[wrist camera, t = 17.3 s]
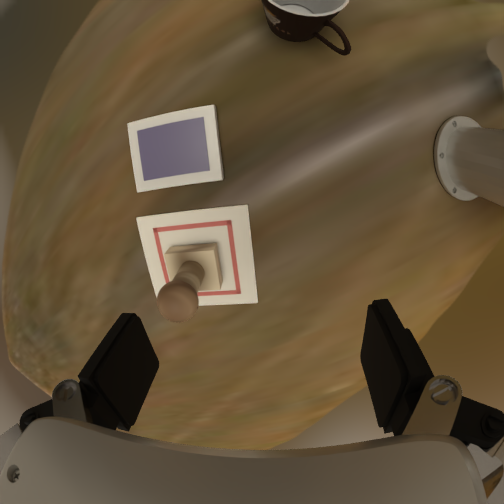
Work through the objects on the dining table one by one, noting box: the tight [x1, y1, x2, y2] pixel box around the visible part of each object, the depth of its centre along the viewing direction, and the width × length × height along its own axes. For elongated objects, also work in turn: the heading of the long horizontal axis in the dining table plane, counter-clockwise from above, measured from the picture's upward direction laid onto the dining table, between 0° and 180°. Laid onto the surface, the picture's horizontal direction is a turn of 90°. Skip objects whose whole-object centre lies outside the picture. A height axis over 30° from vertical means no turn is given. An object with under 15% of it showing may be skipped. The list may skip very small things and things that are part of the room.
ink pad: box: [127, 105, 224, 192], centre depth 30 cm, size 11×9×2 cm
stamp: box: [157, 243, 223, 322], centre depth 31 cm, size 6×5×12 cm
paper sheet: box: [136, 204, 258, 306], centre depth 36 cm, size 15×14×1 cm
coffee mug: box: [262, 0, 351, 55], centre depth 19 cm, size 12×9×10 cm
